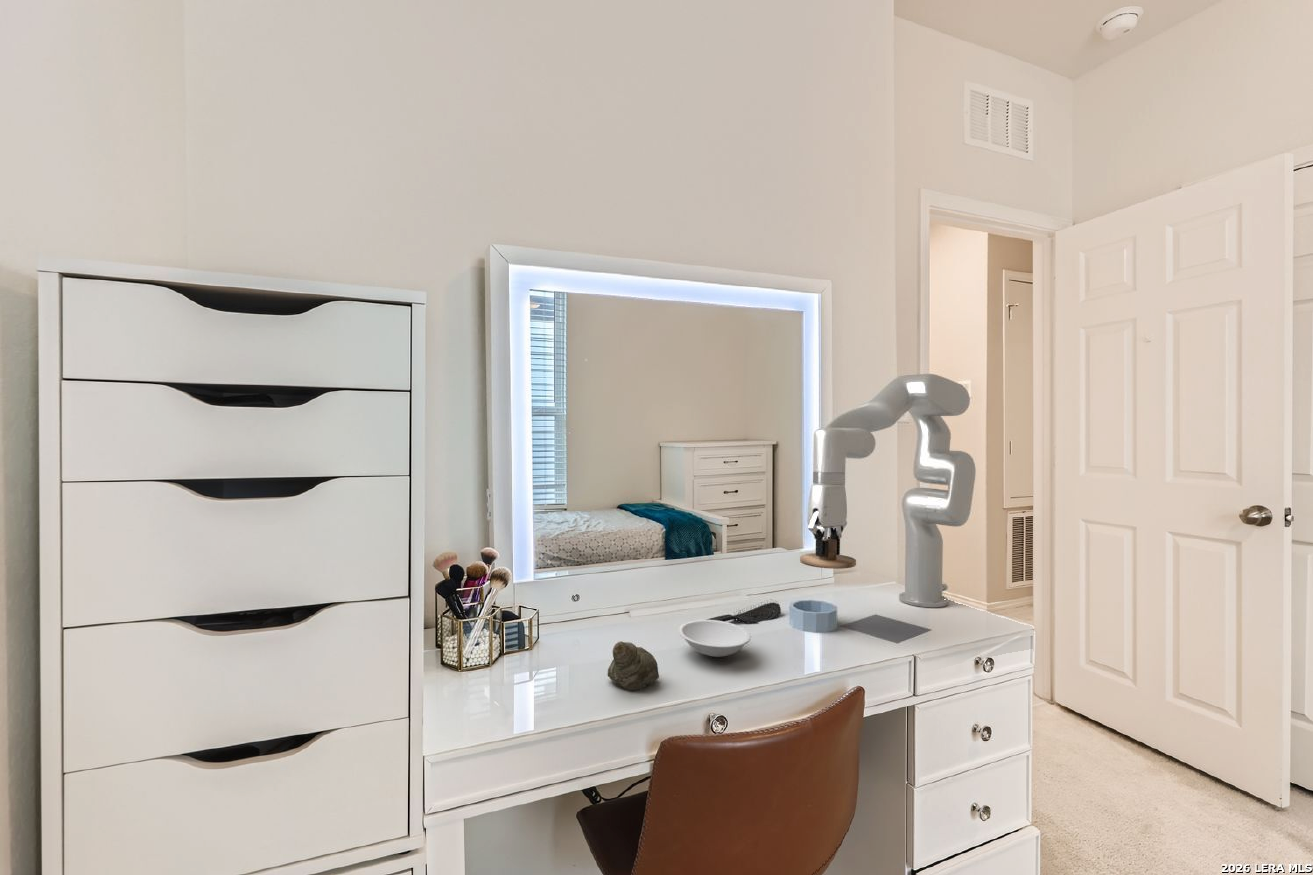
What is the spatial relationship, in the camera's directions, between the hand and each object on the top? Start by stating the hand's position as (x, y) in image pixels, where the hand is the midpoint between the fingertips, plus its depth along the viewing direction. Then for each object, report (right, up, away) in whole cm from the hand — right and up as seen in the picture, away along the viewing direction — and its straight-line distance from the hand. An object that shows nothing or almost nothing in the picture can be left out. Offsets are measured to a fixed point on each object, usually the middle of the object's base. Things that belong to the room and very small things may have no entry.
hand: (827, 554), depth 150 cm
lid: (0, -2, 0) cm, 2 cm away
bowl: (-3, -18, +1) cm, 18 cm away
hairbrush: (-21, -18, +5) cm, 28 cm away
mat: (+14, -18, -1) cm, 22 cm away
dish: (-29, -18, -18) cm, 39 cm away
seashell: (-44, -19, -31) cm, 57 cm away
